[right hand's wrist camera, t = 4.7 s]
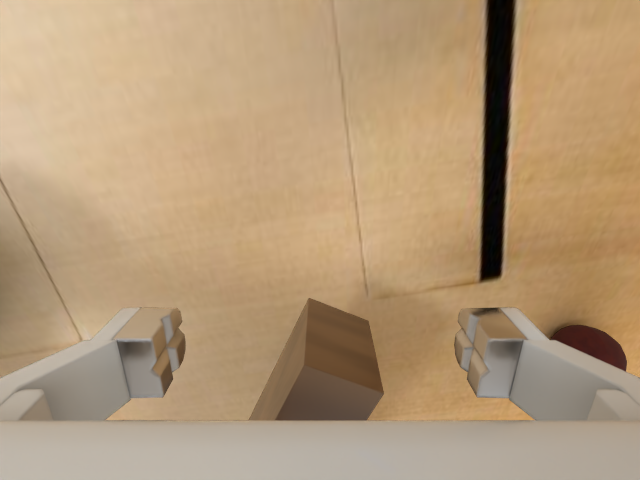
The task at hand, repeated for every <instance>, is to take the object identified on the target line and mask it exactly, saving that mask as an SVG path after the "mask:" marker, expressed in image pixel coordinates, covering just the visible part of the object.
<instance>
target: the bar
mask: <svg viewBox="0 0 640 480" xmlns="http://www.w3.org/2000/svg"><path fill="white" fill-rule="evenodd" d="M383 394H384V392H383V387H382V383H381V378H380V373H379V368H378V364H377V359H376V354H375V350H374V345H373V340H372V336H371V331H370V326H369V321H367V320H365V319H362V318H359V317H357V316H354V315H352V314H349V313H347V312H344V311H341V310H339V309H336V308H334V307H331V306H329V305H326V304H323V303H321V302H318V301H316V300H313V299H311V298H309V299H308V301H307V303H306V305H305V307H304V309H303V311H302V313H301V315H300V317H299V319H298V321H297V323H296V325H295V327H294V329H293V331H292V333H291V335H290V337H289V339H288V341H287V343H286V345H285V347H284V350H283V352H282V354H281V356H280V358H279V360H278V362H277V364H276V366H275V368H274V370H273V372H272V374H271V376H270V378H269V380H268V382H267V384H266V386H265V388H264V390H263V392H262V394H261V396H260V398H259V400H258V402H257V404H256V406H255V408H254V410H253V412H252V415H251V417H250V419H249V420H255V421H304V420H367V419H368V417H369V416H370V414H371V413H372V411H373V410H374V408H375V406H376V405H377V403H378V402H379V400H380V399H381V397H382V396H383Z"/></svg>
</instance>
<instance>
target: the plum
mask: <svg viewBox="0 0 640 480" xmlns="http://www.w3.org/2000/svg"><path fill="white" fill-rule="evenodd" d="M551 340H556V341H558V342H561V343H563V344H565V345H567V346H570V347H572V348H574V349H576V350H579V351H581V352H583V353H585V354H588V355H590V356H592V357H594V358H596V359H599V360H601V361H603V362H605V363H608V364H610V365H612V366H614V367H617V368H619V369H621V370H623V371H626V366H627V361H626V356H625V354H624V352H623V350H622V348H621V346H620V344H619V343H618V342H616V341H615V340H614V339H613V338H612V337H610V336H609V335H608V334H607V333H605V332H603V331H601V330H598V329H595V328H592V327H588V326H583V325H572V326H568V327H565V328H562V329H561V330H559V331H558V332H557V333H555V334H554V336H553V337H552V338H551Z"/></svg>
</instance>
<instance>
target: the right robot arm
mask: <svg viewBox="0 0 640 480" xmlns="http://www.w3.org/2000/svg"><path fill="white" fill-rule="evenodd" d="M181 323H182V317H181V312H180V311H179V310H178V308H145V307H144V308H142V307H127V308H122V309H121V310H120V311H119V312H118V313H117V314H116V315H115V316H114V317H113V318H112V319H111V320H110V321H109V322H108V323H107V324H106V325H105V326H104V327H103V328H102V329H101V330H100V331H99V332H98V333H97V334H96V335H95V336H94V337H93V338H92V339H91V340H84V341H82V342H79V343H77V344H75V345H73V346H70V347H68V348H66V349H64V350H61V351H59V352H57V353H55V354H52V355H50V356H48V357H46V358H43V359H41V360H39V361H37V362H34V363H32V364H30V365H28V366H25V367H23V368H21V369H19V370H16V371H14V372H12V373H10V374H8V375H5V376H3V377H1V378H0V480H640V378H639V377H637V376H635V375H632V374H630V373H628V372H626V371H623V370H621V369H619V368H617V367H614V366H612V365H610V364H608V363H605V362H603V361H601V360H599V359H596V358H594V357H592V356H590V355H588V354H585V353H583V352H581V351H579V350H576V349H574V348H572V347H570V346H567V345H565V344H563V343H561V342H558V341H556V340H549V339H548V338H547V337H546V336H545V335H544V334H543V333H542V332H541V331H540V330H539V329H538V328H537V327H536V326H535V325H534V324H533V323H532V322H531V321H530V320H529V319H528V318H527V317H526V316H525V315H524V314H523V313H522V312H521V311H520V310H519V309H518V308H515V307H503V308H466V309H461V311H460V313H459V317H458V323H459V324H460V326H461V327H462V328H461V330H460V331H459V332H458V333H457V334H456V336H455V344H454V346H455V355H456V358H457V361H458V363H459V365H460V367H461V368H462V369H464V370H465V371H467V372H468V376H467V380H468V382H469V384H470V385H471V387H472V389H473V391H474V393H475V395H476V396H477V397H485V398H510V399H509V400H510V401H512V402H513V403H514V404H516V405H517V406H518V407H519V408H521V409H522V410H523V411H524V412H526V413H527V414H528V415H529V416H531V417H532V418H533V419H535V420H304V421H255V420H106V419H107V418H108V417H109V416H111V415H112V414H113V413H114V412H116V411H117V410H118V409H120V408H121V407H122V406H123V405H125V404H126V403H127V402H128V401H130V400H131V399H130V398H154V397H163V396H164V395H165V393H166V391H167V389H168V387H169V385H170V384H171V382H172V380H173V376H172V372H173V371H175V370H176V369H178V368H179V367H180V365H181V363H182V361H183V358H184V354H185V335H184V334H183V333H182V332H181V331H180V330H179V328H178V327H179V326H180V324H181Z"/></svg>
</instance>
